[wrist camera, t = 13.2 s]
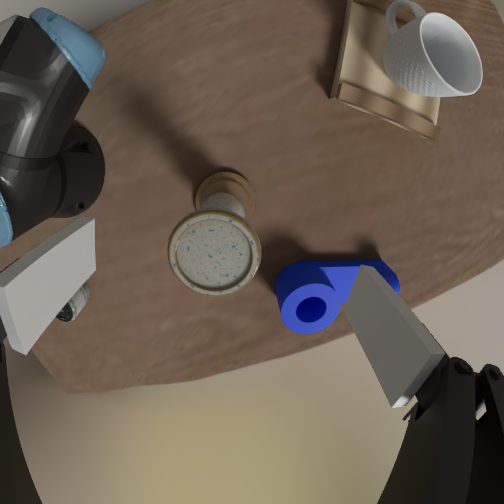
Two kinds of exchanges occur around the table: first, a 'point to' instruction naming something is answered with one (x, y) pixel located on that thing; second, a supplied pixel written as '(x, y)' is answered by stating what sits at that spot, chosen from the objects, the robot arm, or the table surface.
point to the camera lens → (74, 304)
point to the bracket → (320, 291)
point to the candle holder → (217, 238)
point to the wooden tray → (378, 72)
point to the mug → (431, 54)
